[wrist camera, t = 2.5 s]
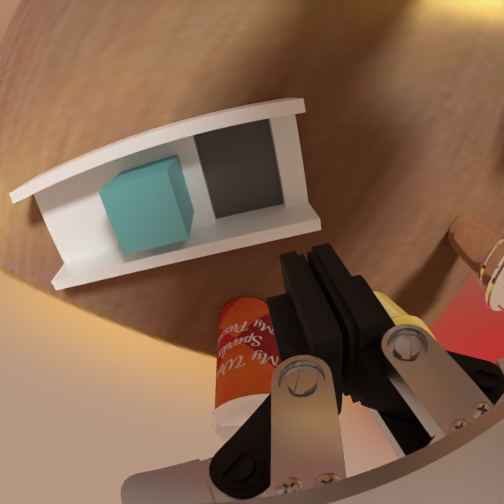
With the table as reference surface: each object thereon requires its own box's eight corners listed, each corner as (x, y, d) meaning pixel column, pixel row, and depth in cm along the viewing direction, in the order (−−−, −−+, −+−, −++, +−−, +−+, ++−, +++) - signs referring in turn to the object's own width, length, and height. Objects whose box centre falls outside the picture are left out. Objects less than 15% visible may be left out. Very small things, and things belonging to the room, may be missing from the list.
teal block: (120, 172, 22) (98, 191, 17) (177, 154, 22) (166, 169, 17) (139, 225, 24) (124, 255, 20) (194, 211, 24) (188, 239, 20)
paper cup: (263, 277, 30) (291, 397, 18) (289, 324, 33) (319, 432, 21) (195, 305, 31) (190, 425, 19) (229, 348, 34) (237, 454, 22)
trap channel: (34, 177, 22) (9, 193, 18) (288, 97, 21) (303, 98, 17) (73, 264, 27) (56, 290, 23) (306, 208, 26) (321, 229, 22)
